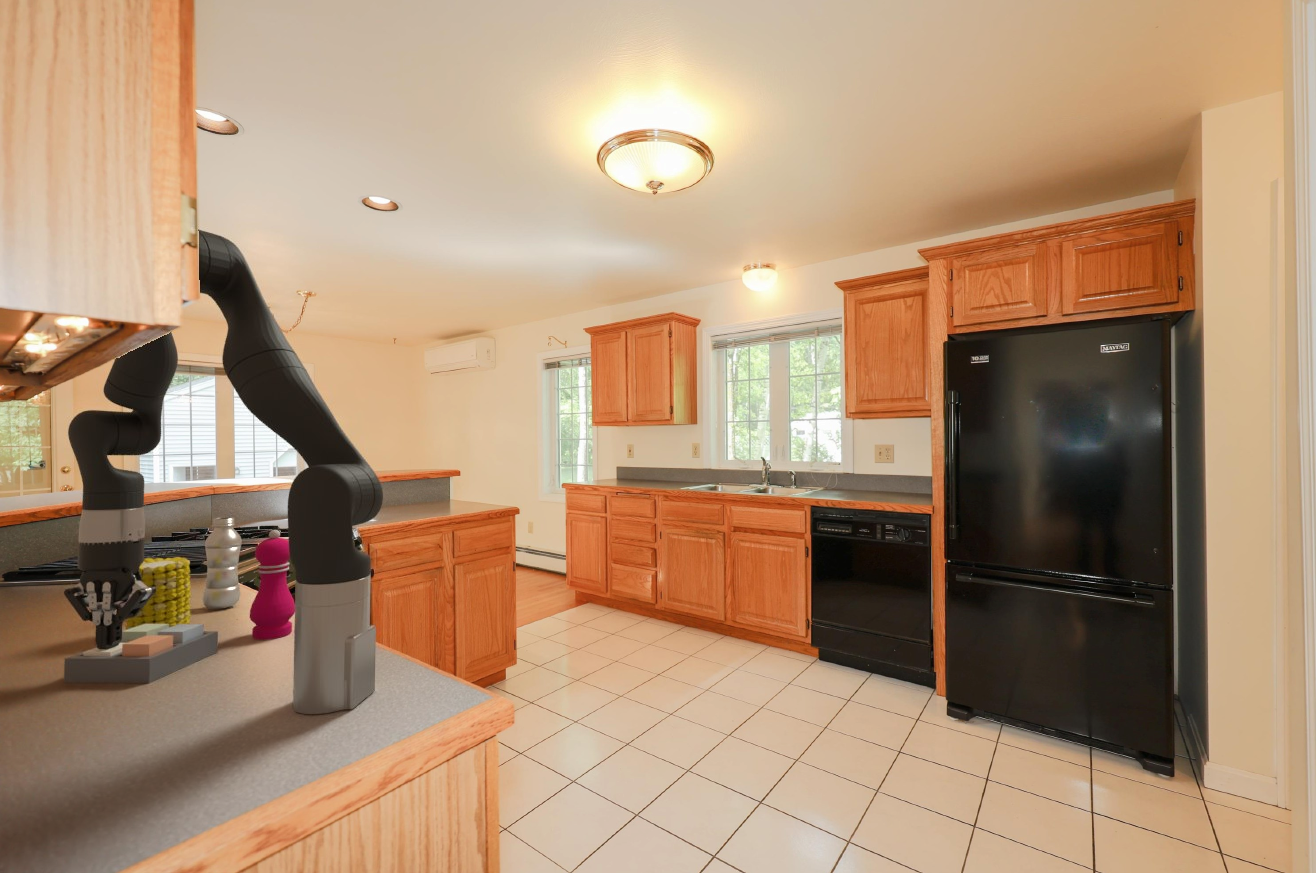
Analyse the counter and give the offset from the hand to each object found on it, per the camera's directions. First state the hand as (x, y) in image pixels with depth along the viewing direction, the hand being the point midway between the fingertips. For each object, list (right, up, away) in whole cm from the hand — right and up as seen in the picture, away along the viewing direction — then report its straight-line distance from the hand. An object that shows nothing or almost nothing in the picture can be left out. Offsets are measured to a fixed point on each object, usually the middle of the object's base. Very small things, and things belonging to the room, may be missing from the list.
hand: (108, 647), depth 88 cm
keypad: (+3, -4, +3) cm, 6 cm away
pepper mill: (+13, -5, +19) cm, 23 cm away
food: (-10, -5, +20) cm, 23 cm away
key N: (0, -3, 0) cm, 3 cm away
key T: (+6, -2, 0) cm, 7 cm away
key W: (0, -2, +6) cm, 6 cm away
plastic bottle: (-11, -5, +37) cm, 39 cm away
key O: (+6, -2, +6) cm, 9 cm away
